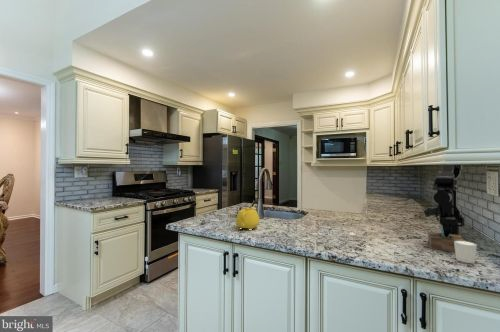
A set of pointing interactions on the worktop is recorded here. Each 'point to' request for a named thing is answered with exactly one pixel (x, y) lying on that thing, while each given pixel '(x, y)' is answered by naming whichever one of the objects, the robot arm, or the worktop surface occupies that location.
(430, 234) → the socket block
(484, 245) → the worktop surface
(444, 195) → the robot arm
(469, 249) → the white cup
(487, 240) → the worktop surface
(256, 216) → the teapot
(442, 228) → the peg
